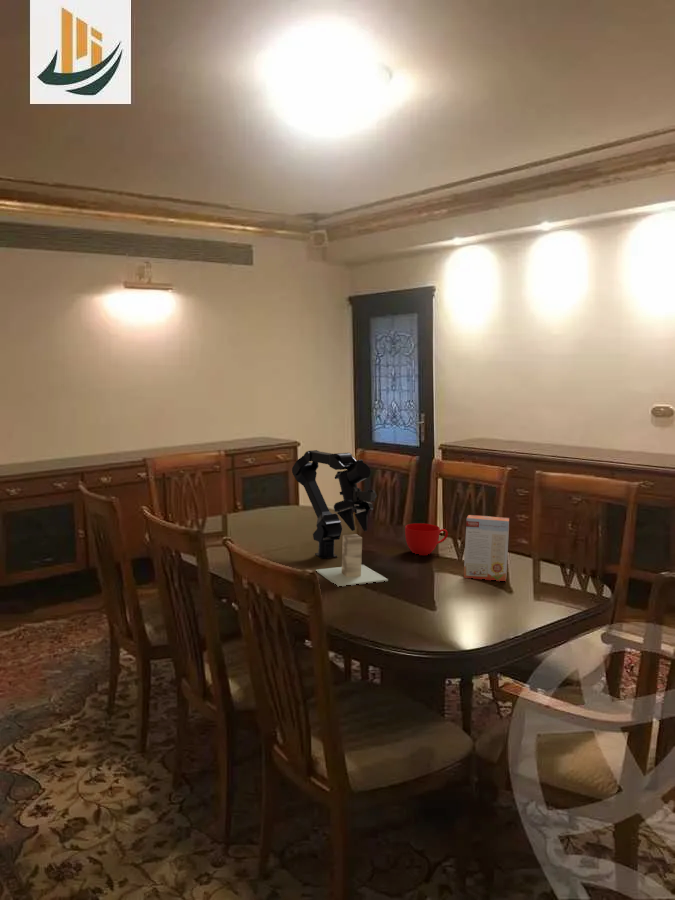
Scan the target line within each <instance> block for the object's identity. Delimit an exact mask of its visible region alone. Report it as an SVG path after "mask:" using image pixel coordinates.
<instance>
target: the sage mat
mask: <svg viewBox="0 0 675 900" xmlns="http://www.w3.org/2000/svg"><path fill="white" fill-rule="evenodd" d="M316 571H317V573H318V574H319V575H321V576H322V577H323V578H325V580H328V581H329V582H331V583H332V584H333V583H334V584H333V585H335V584H336V585H337V586H336V585H335V586H336V587H338V588H340V587H339V586H342V587H347V586H346V585H351V586H357V585H356V584H359V585H365V584H366V583H368V584H374V583H373V582H376V583H383V582H384V581H385V582H389V578H386V577H385V576H384V575H382V574H380V573H378V572H377V571H374V570H373V569H371V568H369V567H368V566H366V565H365V564H361V576H354V577H346V576H345V575H344V574H342V566H338V567H328V568H319V569H315V572H316ZM385 582H384V583H385Z"/></svg>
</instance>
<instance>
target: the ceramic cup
mask: <svg viewBox="0 0 675 900" xmlns="http://www.w3.org/2000/svg"><path fill="white" fill-rule="evenodd" d="M442 532H445V535H444V537H443V538H441V539H440V540H439V538H440V534H441V533H442ZM404 534H405V535H404V536H405V541H406V544H407V547H408V548H409V550H410V551H411V553H412V554H413V553H415V554H414V555H416V554H419V555H418V556H428V554H429V555H431V553H432V552H433V551H434V550H435V549H436V547H437V545H439V544H441V543H442V542H444V541H446V539H447V538H448V536H449V532H448V530H447V529H445V528H440V527H439V526H437V525H435V524H430V523H422V522H421V523H408V524H406V525H405V527H404Z"/></svg>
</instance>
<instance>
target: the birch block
mask: <svg viewBox="0 0 675 900" xmlns="http://www.w3.org/2000/svg"><path fill="white" fill-rule="evenodd" d="M341 544H342V547H341V548H342V551H341V552H342V554H341V567H342V574H344V575H345V576H346V577H354V576H361V565H362V554H363V551H362V550H363V537H362V536H360V535H358V534H357V533H354V534H353V533H352V534H342V543H341Z"/></svg>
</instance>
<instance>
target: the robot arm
mask: <svg viewBox="0 0 675 900" xmlns="http://www.w3.org/2000/svg"><path fill="white" fill-rule="evenodd" d="M319 464H322V465H323V464H324V465H328V466H329V467H330V468H331V469H333V470H335V471H336V474H335V476H334V479H335V480H338V482H339V483H338V484H339V485H340V490H341V491H339V495H340V496H342V498H343V499H342V500H341V501H337V502H335V503H334V505H333V510H334V512H335V513H332V512H331V511H330V509H329V506H328V504H327V503H326V500H325V498H324V496H323V494H322V492H321V490H320V487H319V485H318V483H317V481H316V480H317V474H318V473H317V469H318V468H319ZM291 473H292V475H293V477H294V479H295V480H296V481H297V482H298V483H299V484H300V485H302V486H303V488H304V490H305V493H306V495H307V498H308V499H309V501H310V502H309V503H311V506H312V508H313V509H312V510H313V511H314V513H315V515H316V517H317V521H316V525H315V526H316V530H315V531H314V532H313V533H312V538H313V540H314V541H316V542H318V552H315V553H314V555H315V556H317V557H318V558H319V559H321V560H323V559H324V560H325V559H332V558H334V557H335V558H338V555H337V554H335V541H337V540H340V538H341V535H342V533H343V532H342V531H343V526H342V521H343V522H344V523H345V524H346V525H347V527H348V528H349V529H350V531H352V532H354V531H355V530H356V525H355V518H356V520H357V522H358V524H359V525H360V527H361V529H362V530H363V531H364V532H367V531H368V521H369V515H370V513H371V512H373V510H374V505H373V503H372V502H376V498H377V497H378V495H377V492H376V491H375V489H368V491H362V489H361V488H360V487H358V484H359V483H361V482H362V481H364V480H366V479H368V478H369V477H370V476H371V468H370V467H369V465H368V464H367V463H365V462H364V460H363V459H357V460H356V458H354V456H353V455H352V453H350V452H340V453H331V452H326V451H320V450H317V449H316V450H307V451H305V453H304V454H303V455H302V456H301V457H299V458H298V459H297V460H296V461H295V462H294V464H293V466H292V468H291ZM354 516H355V518H354ZM339 517H340V518H341V519H342V521H341V520H340V518H339ZM335 558H334V559H335Z"/></svg>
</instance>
